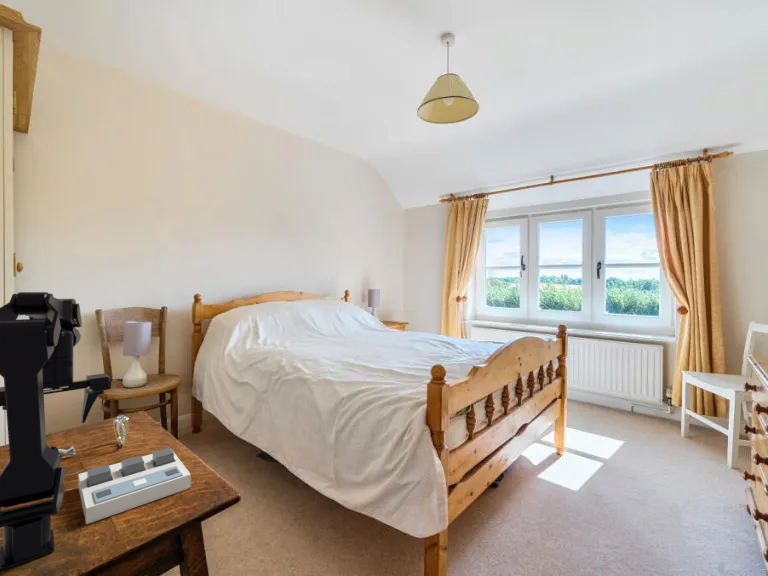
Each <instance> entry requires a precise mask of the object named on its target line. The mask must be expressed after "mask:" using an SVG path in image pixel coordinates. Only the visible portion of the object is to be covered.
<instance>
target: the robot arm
mask: <svg viewBox="0 0 768 576" xmlns="http://www.w3.org/2000/svg"><path fill="white" fill-rule="evenodd" d="M80 307H81V306H80V303H77V300H76V299H75V298H57V297H54V294H53V293H49V292H47V291H43V292H42V291H22V292H21V291H20V292H18V293H17V292H16V293H12V295H11V297H10V299H9V301H8V303H6V304H4V305H2V306H1V307H0V376H1V377H2V378H3V382H4V383H3V384H4V386H0V407H2V410H3V411H5V410H6V411H5V413H6V423H7V437H8V451H9V459H8V460H7V461H6V463H5V465H4V467H3V468H2V470H1V473H0V529H1V528H2V533H3V534H2V535H3V536H2V537H3V539H2V540H3V542H2V543H3V546H2V547H0V572H1V571H5V570H9V569H11V568H13V567H16V566H19V565H22V564H24V563H27V562H29V561H32V560H34V559H37V558H40V557H43V556H45V555H48V554H50V553H53V552H54V551H55V549H56V548H55V536H54V530H53V529H52V527H51V526H52V524H51V523H52V522H51V519H52V518H51V517H52V516H56V515H59V514H58V513H59V511H60V508H61V506H62V503H63V501H64V488H65V486H64V484H65V468H64V467H65V466H61V463H60V462H61V461H59V456H60V454H59V450H58V449H59V448H57V446H49V445H47V435H46V434H47V433H46V415H45V397H44V395H50V394H56V393H64V392H69V391H76V390H82V389H84V397H83V403H82V411H81V423H82V424H85V422H86V420H87V418H88V416H89V413H90V411H91V409H92V407H93V405H95V404H94V403H95V402H96V400H97V398H98V397H99V395H103V394H105V391H107V390H111V389H112V380H111V379H112V378H111V377H110V376H109V375H108V374H106V373H98V374H91V375H86V377H85V378H86V379H81V380H74V347H76V346H77V345H78V344H79V342H80V341H81V336H82V335H81V333H80V331H79V329H77V328H82V327H83V322H82V314H81V313H82V312H81V308H80ZM19 316H26V317H28V319H27V318H26V319H25V318H24V319H18V318H19ZM49 498H51V499H49ZM45 499H47V500H45ZM40 500H43V501H40ZM36 501H37V502H36ZM32 502H33V503H32ZM28 503H29V504H28ZM23 504H25V505H23ZM19 505H21V506H19ZM15 506H17V507H15ZM10 507H12V508H10ZM3 508H8V509H3Z"/></svg>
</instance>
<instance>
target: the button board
mask: <svg viewBox="0 0 768 576" xmlns="http://www.w3.org/2000/svg"><path fill="white" fill-rule="evenodd" d="M171 450H172V451H173V452H174V450H173V449H172V448H171ZM141 457H142V459H143V461H144V471H142V472H139V473H135V474H132V475H128V476H125V477H123V475H122V461H121V462H118V463H117V462H116V463H114V464H110V465H109V467H110V470H111V481H108V482H105V483H102V484H98V485H95V486H91V487H88V484H87V471H84V472H81V473H78V477H77V478H78V479H77V480H78V484H77V487H78V493H79V496H80V497H79V498H80V502H81V507H82V511H83V516H84V521H85V525H88V524H91V523H96V522H98V521H100V520H102V519H105V518H108V517H111V516H114V515H117V514H119V513H123V512H125V511H129V510H131V509H134V508H136V507H139V506H142V505H143V506H144V505H145V504H149V503H151V502H154V501H156V500H157V501H158V500H160V499H162V498H165V497H168V496H171V495H175V494H177V493H181V492H183V491H186V490H189V489H191V488H192V474H191V473H190V471H189V469H187V468H186V466H185V465H184V463H183V462H182V461H181V459H179V457H178V456H177V454H176V453H175V452H174V462H172V463H169V464H166V465H162V466H159V467H154V465H153V453H150V454H146V455H144V456H141ZM190 487H191V488H190ZM188 488H189V489H188Z"/></svg>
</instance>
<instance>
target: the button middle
mask: <svg viewBox="0 0 768 576" xmlns="http://www.w3.org/2000/svg"><path fill="white" fill-rule="evenodd" d="M142 457H143V456H142V455H141V454H140V455H137V456H134V457H129V458H126V459H122V460H121V462H122V475H123V477H125V476H128V475H132V474H135V473H139V472H142V471H144V461H143V459H142Z"/></svg>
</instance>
